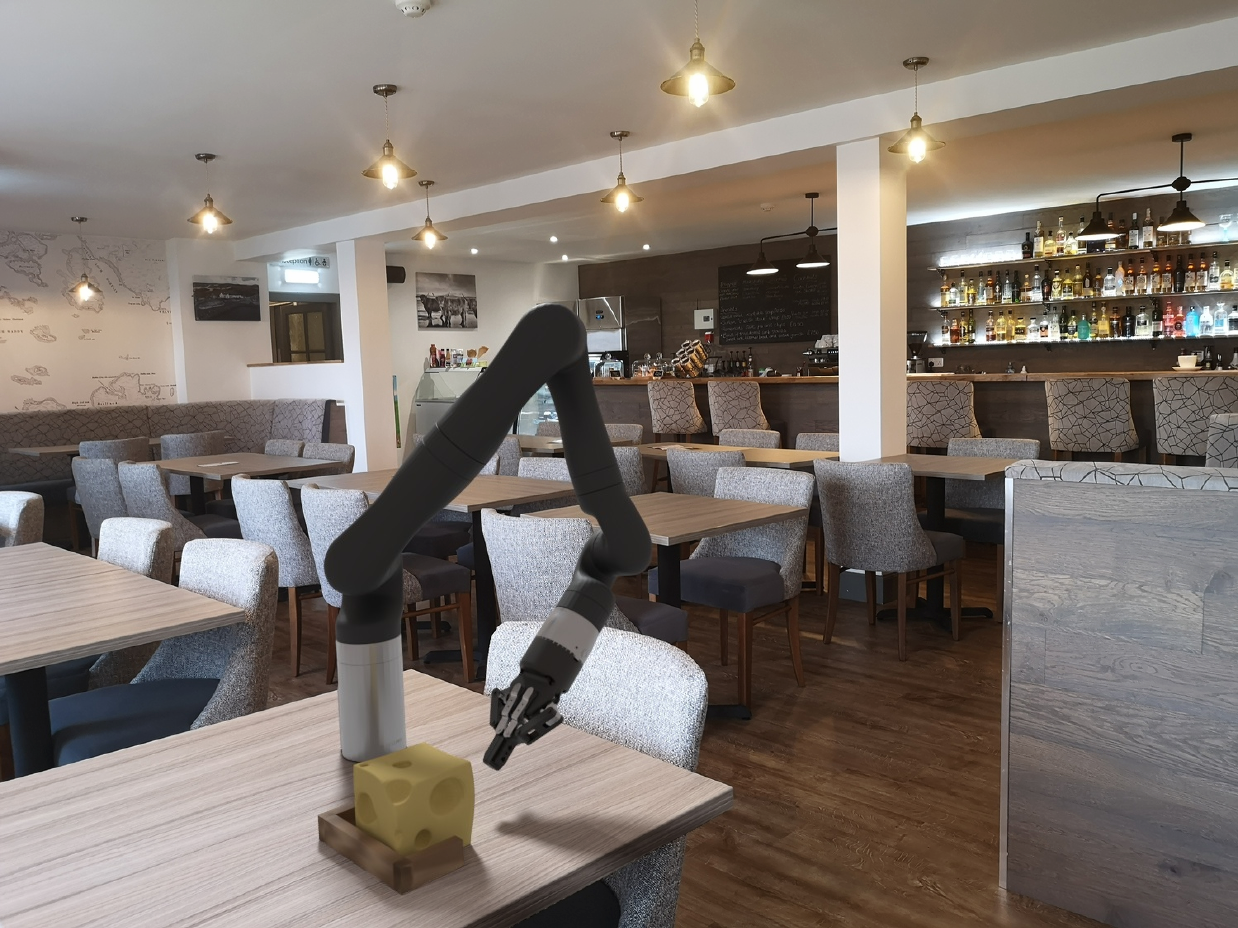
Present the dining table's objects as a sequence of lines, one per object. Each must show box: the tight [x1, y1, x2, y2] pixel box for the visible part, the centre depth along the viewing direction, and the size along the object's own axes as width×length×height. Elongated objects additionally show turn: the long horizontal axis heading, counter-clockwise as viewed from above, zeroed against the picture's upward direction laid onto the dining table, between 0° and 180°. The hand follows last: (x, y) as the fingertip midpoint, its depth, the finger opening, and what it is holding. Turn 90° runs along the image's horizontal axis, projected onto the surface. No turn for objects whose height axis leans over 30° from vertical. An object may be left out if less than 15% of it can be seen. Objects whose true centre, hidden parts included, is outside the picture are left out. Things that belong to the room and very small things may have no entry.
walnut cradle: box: [317, 800, 465, 896], centre depth 107 cm, size 18×8×3 cm, turn 45°
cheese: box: [352, 741, 476, 857], centre depth 108 cm, size 10×11×10 cm
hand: (490, 766), depth 117 cm, fingers closed
